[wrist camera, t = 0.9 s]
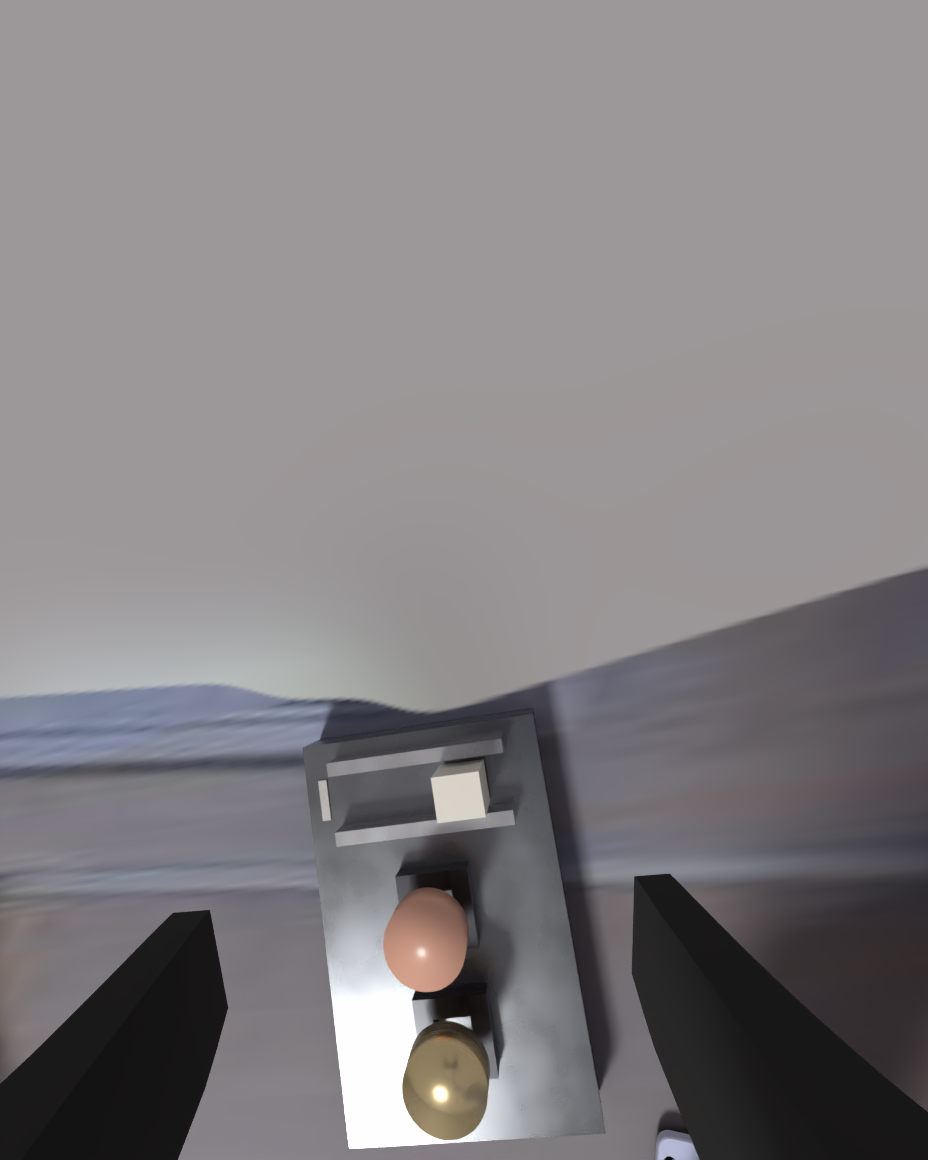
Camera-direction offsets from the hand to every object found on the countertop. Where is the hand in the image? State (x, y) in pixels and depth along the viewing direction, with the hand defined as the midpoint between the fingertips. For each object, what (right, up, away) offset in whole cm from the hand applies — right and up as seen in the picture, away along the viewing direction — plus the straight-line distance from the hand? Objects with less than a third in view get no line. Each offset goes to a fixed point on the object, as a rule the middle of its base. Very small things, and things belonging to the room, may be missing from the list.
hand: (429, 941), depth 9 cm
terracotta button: (-1, -8, +13) cm, 15 cm away
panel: (0, -9, +16) cm, 19 cm away
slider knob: (+1, -3, +15) cm, 15 cm away
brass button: (0, -13, +12) cm, 18 cm away
